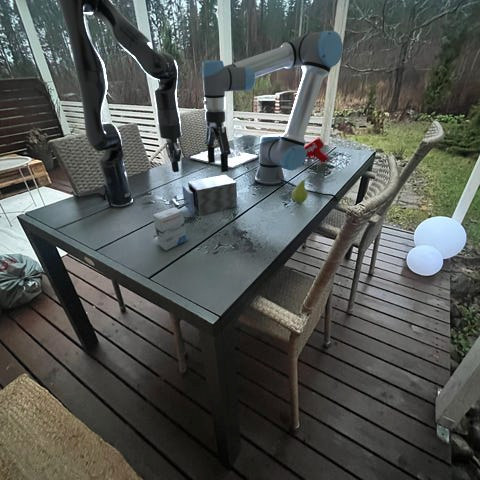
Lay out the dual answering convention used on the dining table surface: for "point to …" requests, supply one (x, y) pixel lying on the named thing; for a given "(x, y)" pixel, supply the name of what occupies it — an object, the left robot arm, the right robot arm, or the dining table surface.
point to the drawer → (188, 199)
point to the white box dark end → (215, 194)
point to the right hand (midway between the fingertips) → (217, 166)
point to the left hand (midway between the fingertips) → (175, 171)
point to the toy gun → (316, 150)
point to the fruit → (300, 192)
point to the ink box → (170, 228)
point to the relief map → (233, 158)
